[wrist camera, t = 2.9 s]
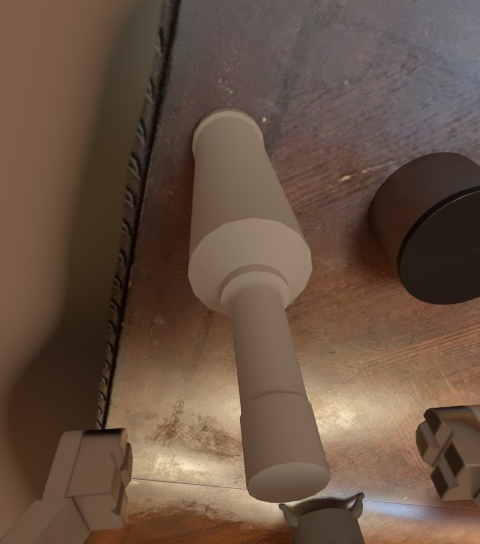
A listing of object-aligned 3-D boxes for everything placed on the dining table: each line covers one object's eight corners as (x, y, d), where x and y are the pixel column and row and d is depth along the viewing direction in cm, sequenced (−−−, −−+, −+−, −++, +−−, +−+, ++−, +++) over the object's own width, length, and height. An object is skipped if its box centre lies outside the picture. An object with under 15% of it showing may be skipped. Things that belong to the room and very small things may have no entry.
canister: (351, 190, 33) (383, 233, 27) (475, 126, 30) (537, 160, 25) (385, 272, 39) (417, 322, 33) (491, 224, 36) (545, 269, 31)
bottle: (182, 159, 30) (154, 520, 10) (206, 92, 27) (229, 404, 7) (244, 182, 32) (326, 533, 12) (272, 120, 29) (440, 441, 9)
